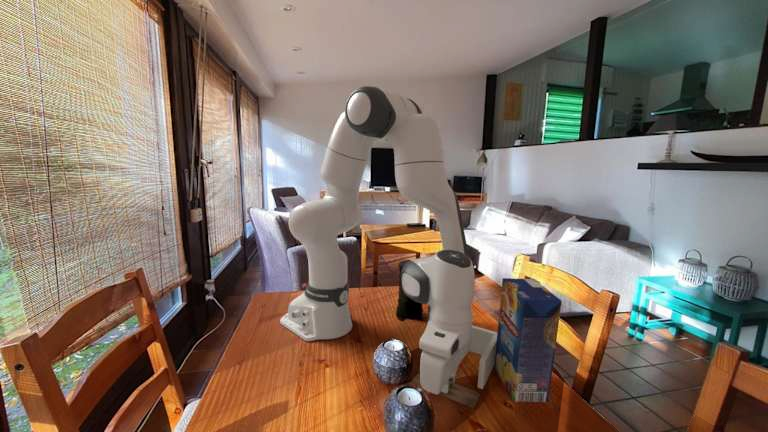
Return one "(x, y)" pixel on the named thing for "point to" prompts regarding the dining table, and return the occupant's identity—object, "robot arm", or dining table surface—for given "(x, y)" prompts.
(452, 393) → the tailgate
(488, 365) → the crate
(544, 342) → the juice carton
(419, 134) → the robot arm
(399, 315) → the container
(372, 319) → the dining table surface
